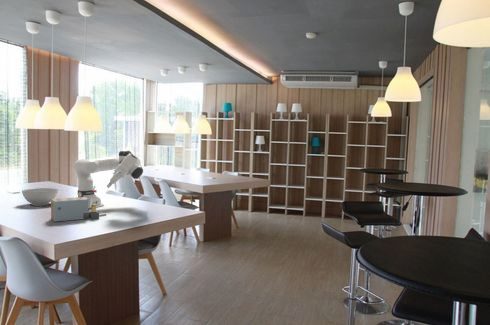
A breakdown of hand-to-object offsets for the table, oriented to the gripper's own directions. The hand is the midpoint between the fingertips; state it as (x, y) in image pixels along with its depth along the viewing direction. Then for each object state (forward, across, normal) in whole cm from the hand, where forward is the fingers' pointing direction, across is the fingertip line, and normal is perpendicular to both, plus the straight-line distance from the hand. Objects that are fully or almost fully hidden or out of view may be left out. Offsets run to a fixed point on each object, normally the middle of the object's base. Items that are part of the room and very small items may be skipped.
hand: (107, 187), depth 281 cm
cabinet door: (+32, -6, +4) cm, 33 cm away
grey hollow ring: (+24, -2, -5) cm, 25 cm away
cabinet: (+32, 0, +6) cm, 33 cm away
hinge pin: (+23, -1, -6) cm, 24 cm away
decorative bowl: (+42, +65, +34) cm, 85 cm away
